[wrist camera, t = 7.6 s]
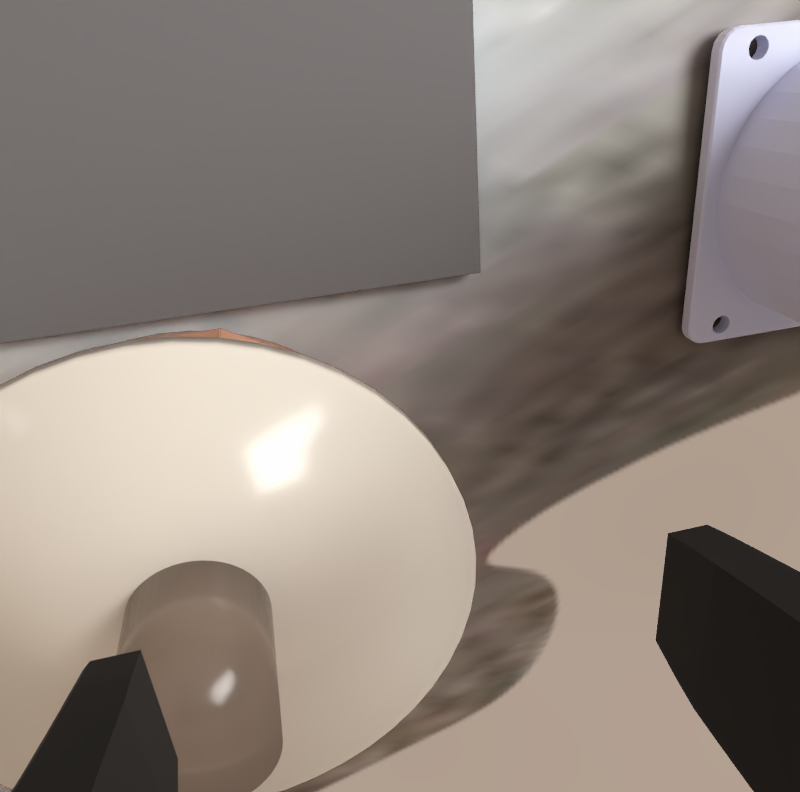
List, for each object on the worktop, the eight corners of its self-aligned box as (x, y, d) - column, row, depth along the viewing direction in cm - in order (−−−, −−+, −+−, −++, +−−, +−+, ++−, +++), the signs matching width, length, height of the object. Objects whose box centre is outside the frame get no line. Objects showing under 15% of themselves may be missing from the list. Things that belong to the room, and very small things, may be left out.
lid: (454, 288, 14) (531, 366, 11) (478, 720, 20) (533, 864, 16) (-258, 401, 12) (-461, 545, 9) (0, 845, 18) (-57, 1040, 14)
